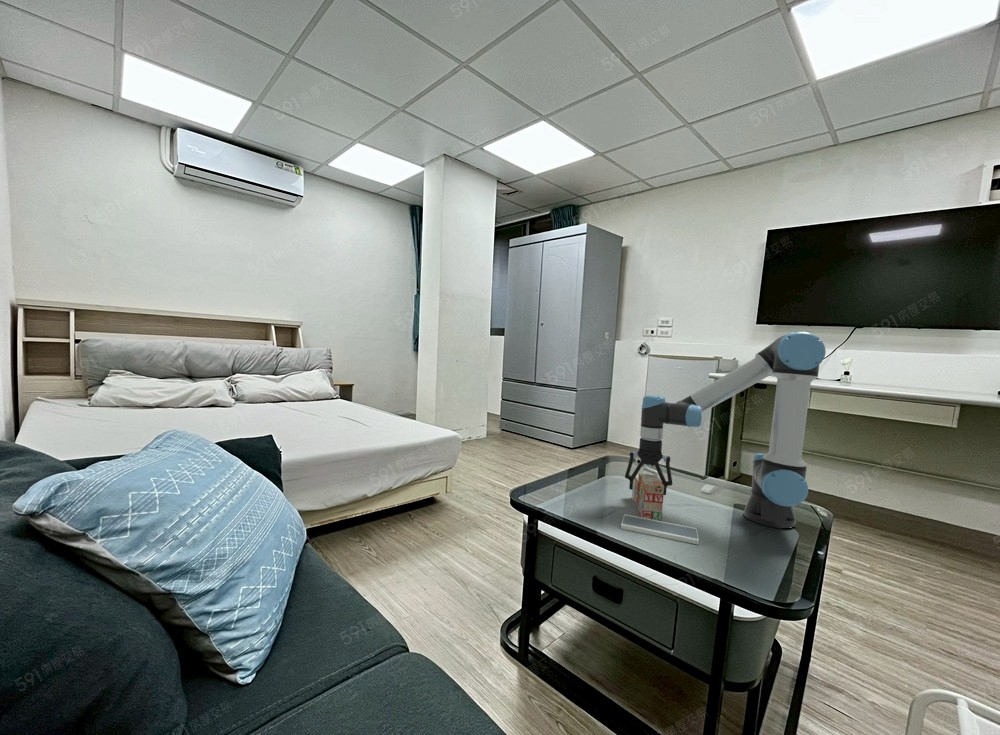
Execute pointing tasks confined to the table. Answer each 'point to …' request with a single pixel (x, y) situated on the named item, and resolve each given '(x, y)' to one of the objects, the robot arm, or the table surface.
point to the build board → (660, 529)
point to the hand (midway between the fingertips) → (646, 500)
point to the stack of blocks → (649, 496)
